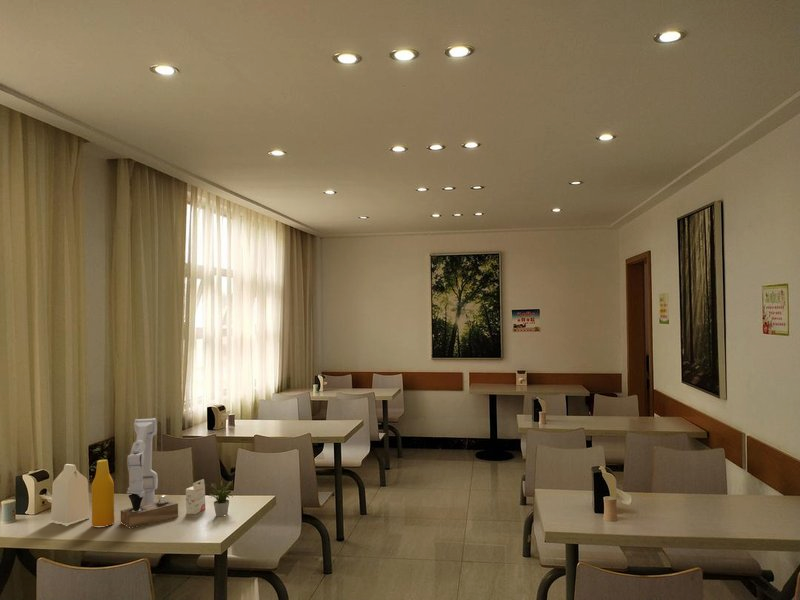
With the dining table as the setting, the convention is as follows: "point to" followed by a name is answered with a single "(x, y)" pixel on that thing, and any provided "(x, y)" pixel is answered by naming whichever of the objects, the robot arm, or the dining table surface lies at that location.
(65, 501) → the milk
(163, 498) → the peg
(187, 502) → the ink cartridge box
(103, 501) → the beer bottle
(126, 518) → the walnut block
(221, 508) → the house plant
